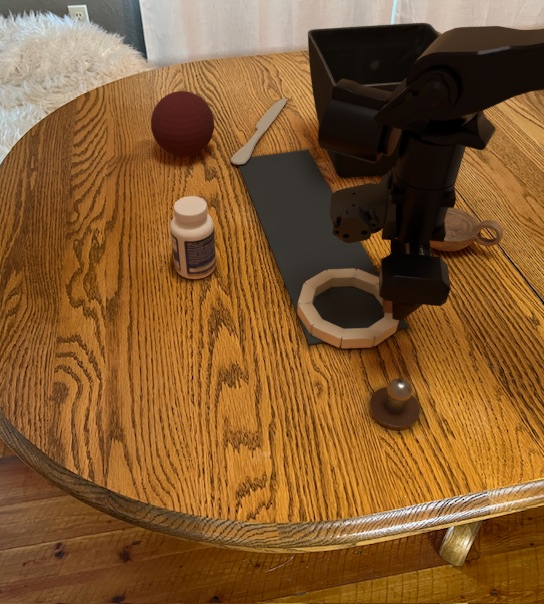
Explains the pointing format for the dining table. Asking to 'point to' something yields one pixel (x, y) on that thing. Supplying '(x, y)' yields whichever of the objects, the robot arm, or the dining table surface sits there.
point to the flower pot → (364, 73)
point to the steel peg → (395, 405)
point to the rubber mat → (309, 237)
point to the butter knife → (258, 133)
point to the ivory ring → (333, 332)
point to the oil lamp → (465, 231)
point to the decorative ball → (182, 124)
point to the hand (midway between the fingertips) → (396, 291)
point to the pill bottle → (193, 238)
